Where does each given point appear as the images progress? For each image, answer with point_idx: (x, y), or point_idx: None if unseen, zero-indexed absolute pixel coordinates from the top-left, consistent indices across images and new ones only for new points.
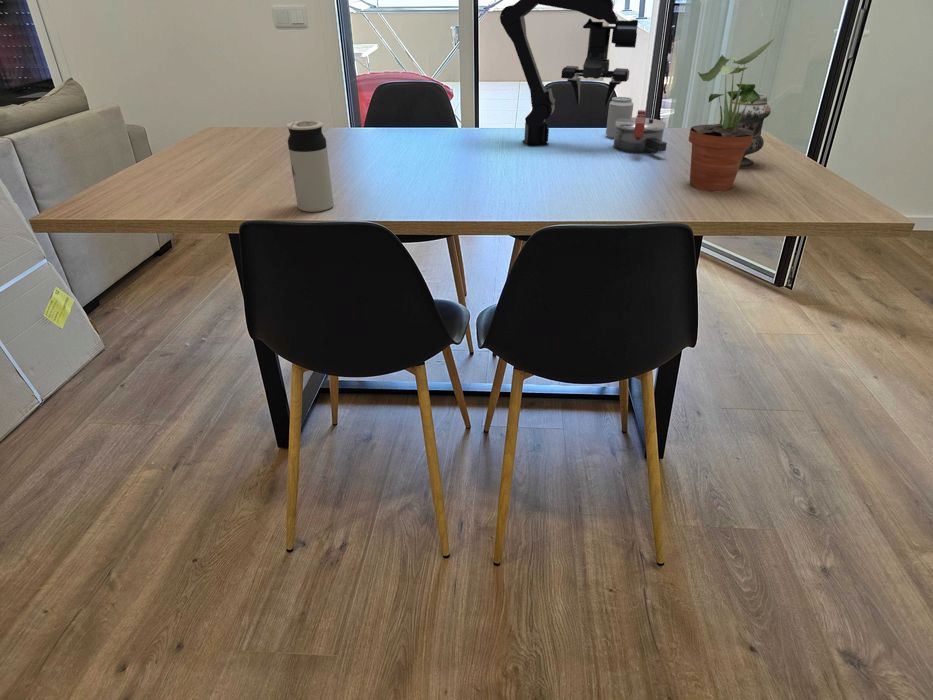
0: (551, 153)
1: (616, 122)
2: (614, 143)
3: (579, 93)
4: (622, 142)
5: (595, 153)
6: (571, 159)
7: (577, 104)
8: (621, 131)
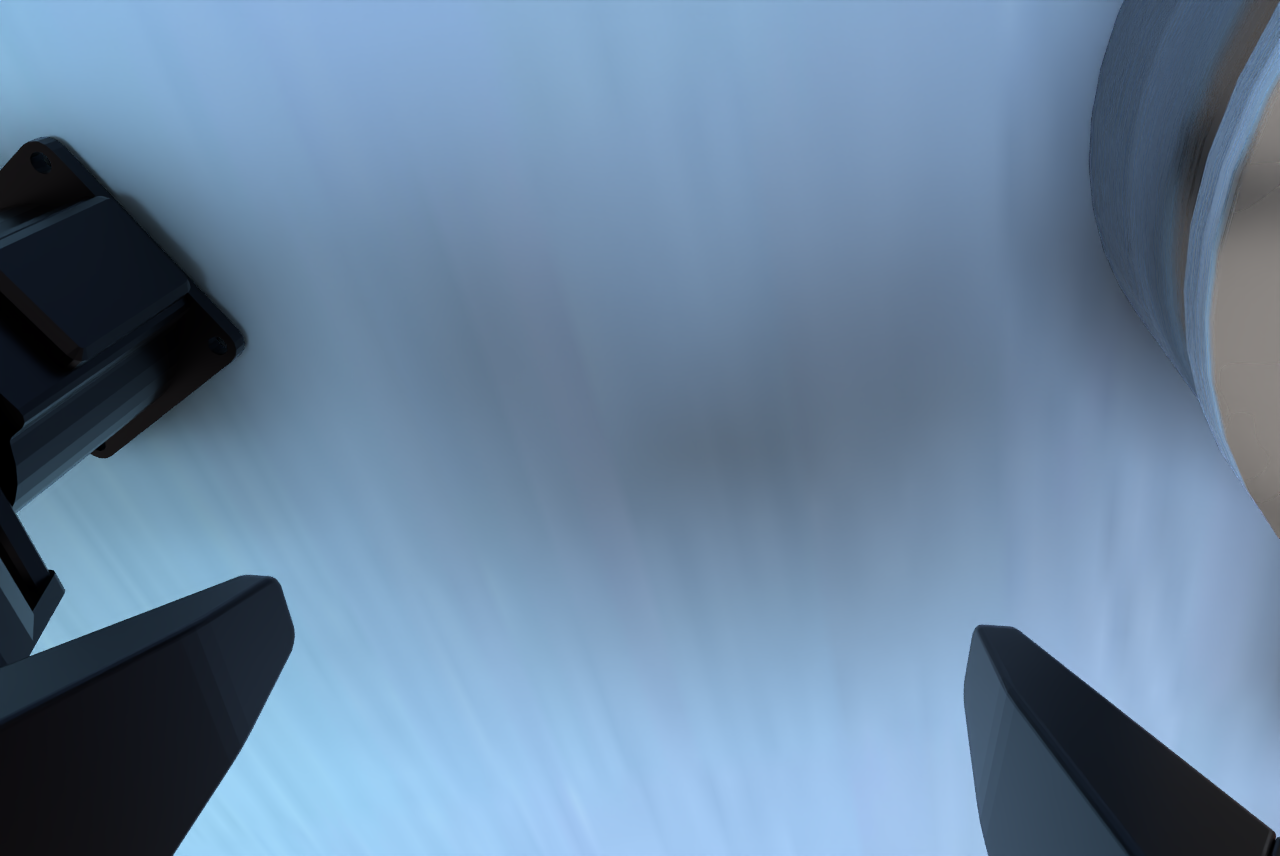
0: (425, 620)
1: (1220, 407)
2: (1115, 249)
3: (96, 779)
4: None
5: (854, 528)
6: (660, 755)
7: (273, 641)
8: None
